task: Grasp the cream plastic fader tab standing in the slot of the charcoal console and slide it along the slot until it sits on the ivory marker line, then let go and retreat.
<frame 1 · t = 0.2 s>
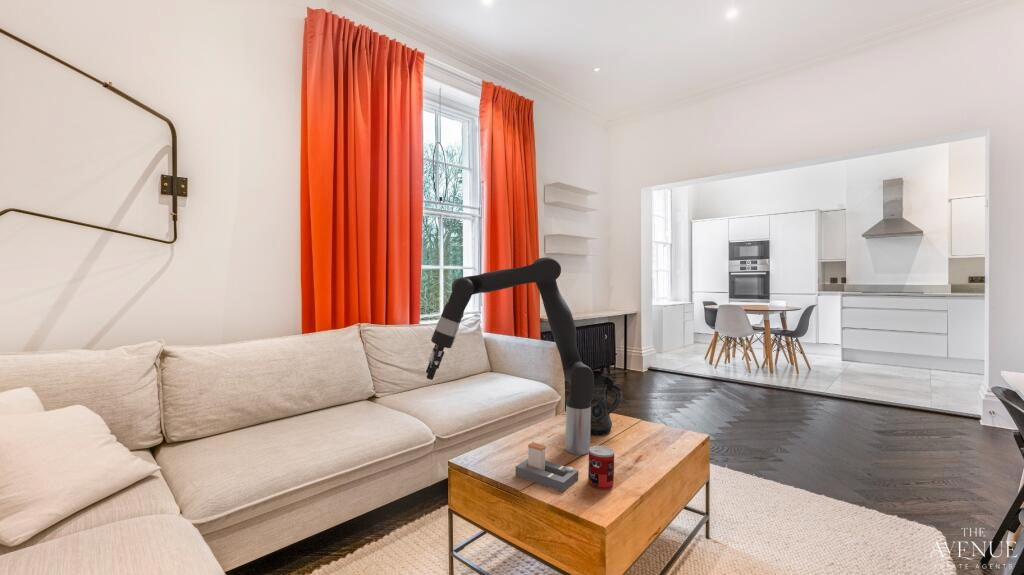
hand: (428, 376, 149), 31 cm above the table, tool tilted 20°, fingers open, 8 cm apart
fader tab: (536, 459, 144), point 5 cm above the table, slide at -4.0 cm
canned food: (600, 484, 138), on the table
console: (546, 477, 142), on the table
beer stein: (595, 429, 187), on the table
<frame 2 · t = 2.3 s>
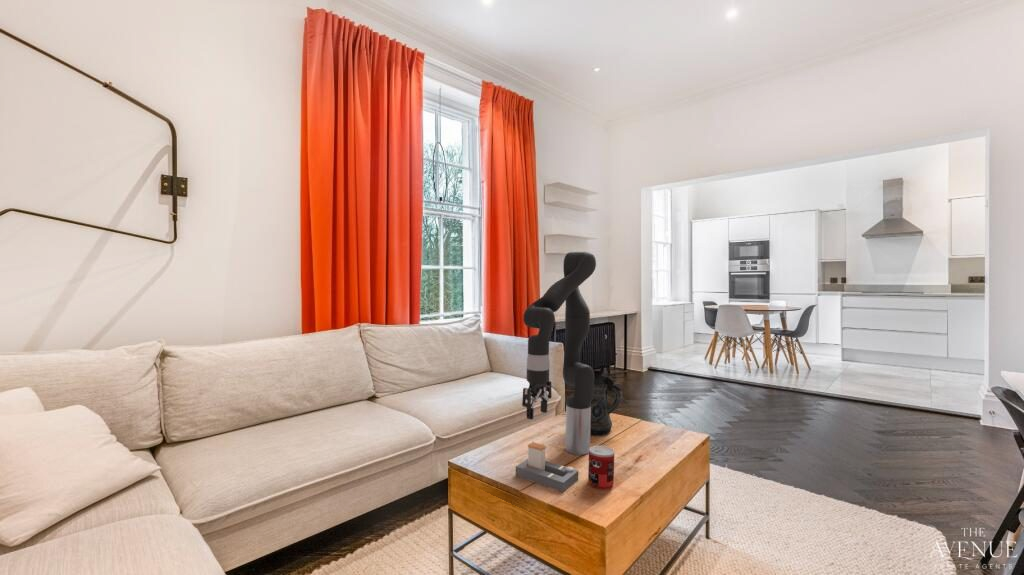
hand: (537, 415, 143), 20 cm above the table, tool pointing down, fingers open, 8 cm apart
nothing on the table moved.
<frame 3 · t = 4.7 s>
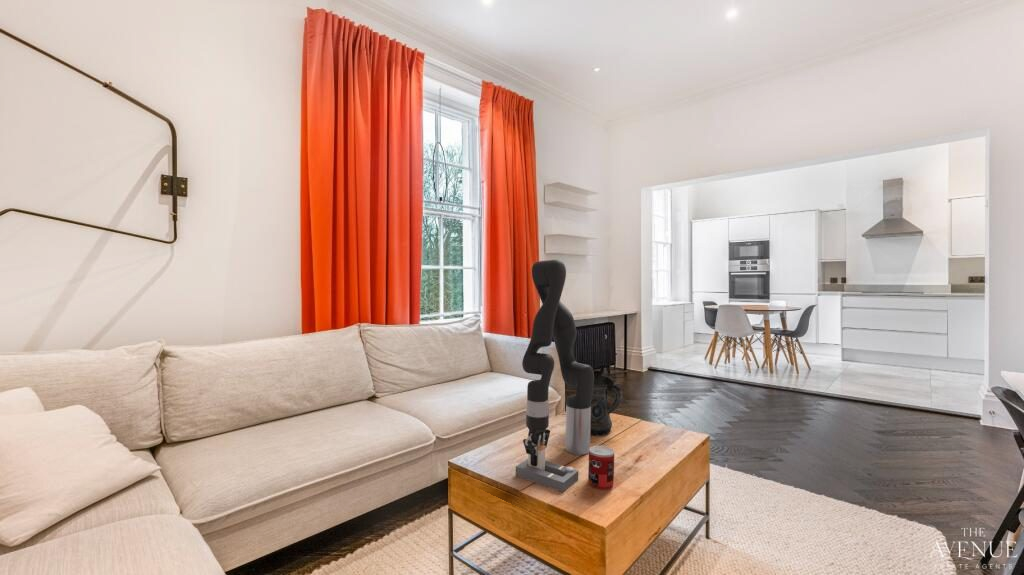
hand: (536, 463, 144), 4 cm above the table, tool pointing down, fingers closed on fader tab, 2 cm apart
fader tab: (536, 459, 144), point 5 cm above the table, slide at -4.0 cm, touching gripper
everything else where it was.
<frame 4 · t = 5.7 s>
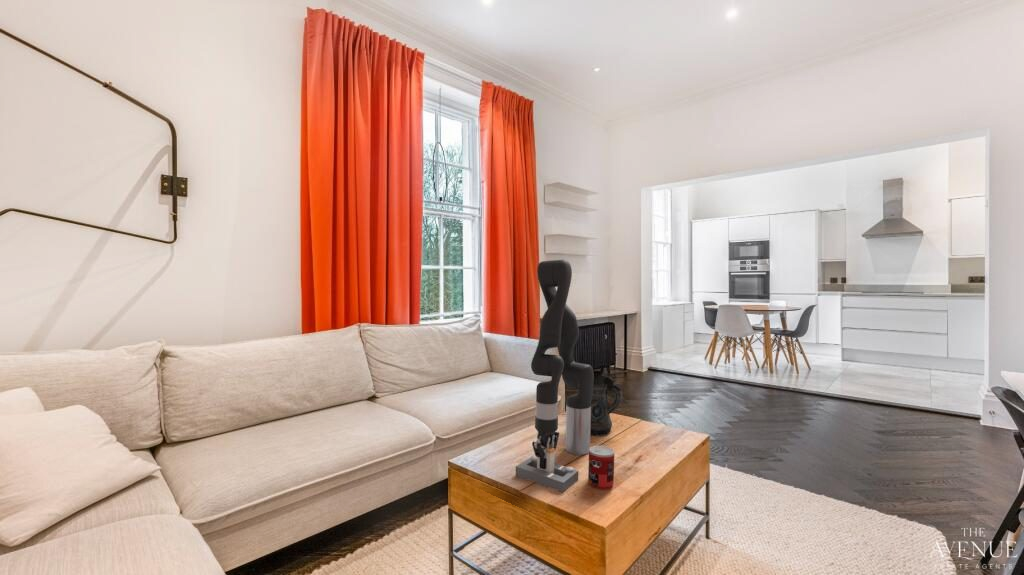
hand: (545, 466, 142), 4 cm above the table, tool pointing down, fingers closed on fader tab, 2 cm apart
fader tab: (545, 462, 142), point 5 cm above the table, slide at -0.5 cm, touching gripper
everything else where it was.
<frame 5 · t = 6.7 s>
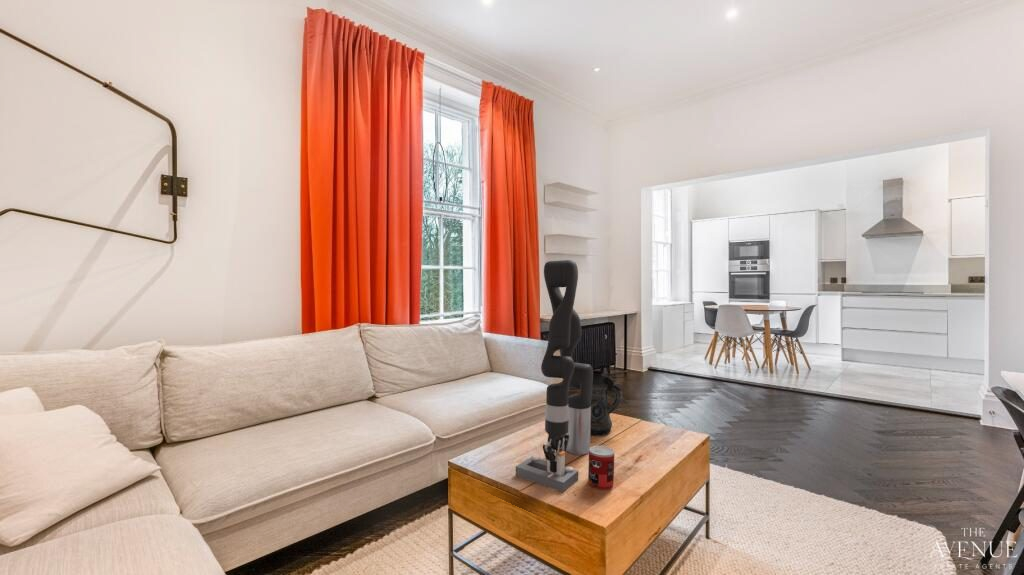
hand: (555, 469, 140), 4 cm above the table, tool pointing down, fingers closed on fader tab, 2 cm apart
fader tab: (555, 465, 139), point 5 cm above the table, slide at 3.4 cm, touching gripper
everything else where it was.
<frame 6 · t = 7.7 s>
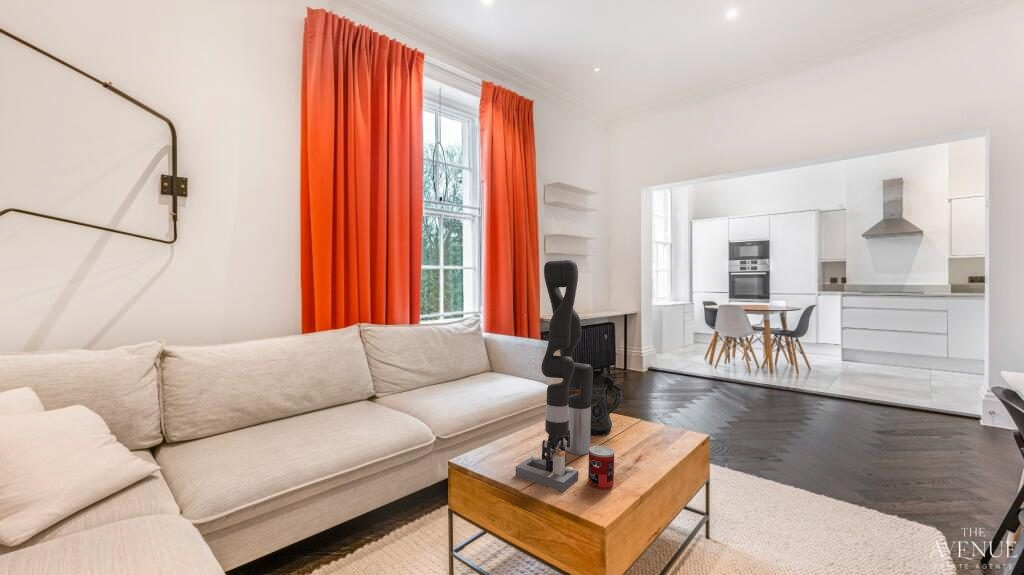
hand: (556, 466, 139), 5 cm above the table, tool pointing down, fingers open, 8 cm apart
fader tab: (555, 465, 139), point 5 cm above the table, slide at 3.4 cm
everything else where it was.
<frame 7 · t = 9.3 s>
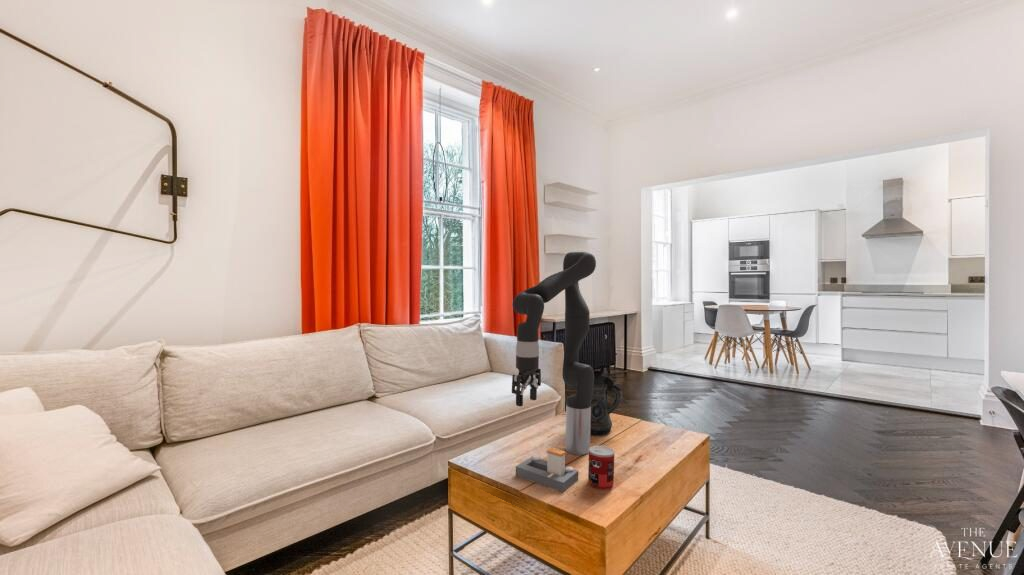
hand: (526, 402, 142), 24 cm above the table, tool pointing down, fingers open, 8 cm apart
nothing on the table moved.
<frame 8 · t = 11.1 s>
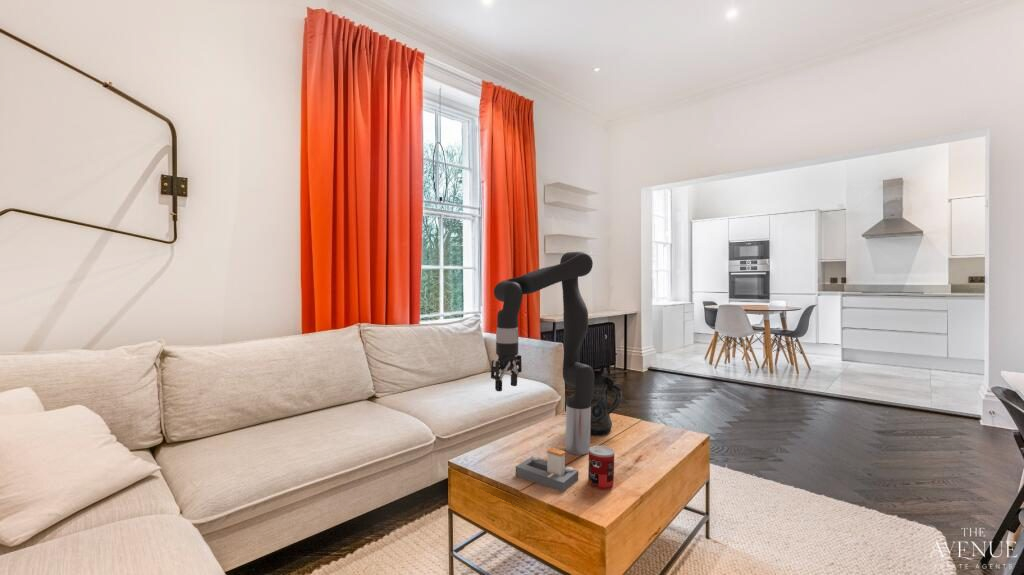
hand: (506, 388, 146), 28 cm above the table, tool pointing down, fingers open, 8 cm apart
nothing on the table moved.
at the end: fader tab slide at 3.4 cm; the gripper is holding nothing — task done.
